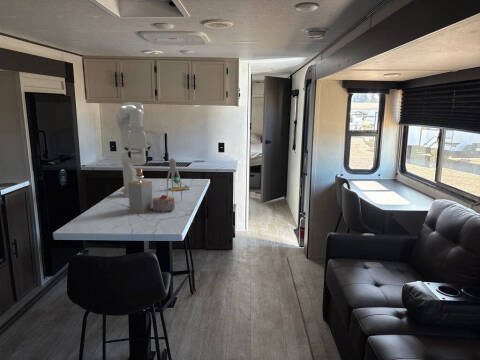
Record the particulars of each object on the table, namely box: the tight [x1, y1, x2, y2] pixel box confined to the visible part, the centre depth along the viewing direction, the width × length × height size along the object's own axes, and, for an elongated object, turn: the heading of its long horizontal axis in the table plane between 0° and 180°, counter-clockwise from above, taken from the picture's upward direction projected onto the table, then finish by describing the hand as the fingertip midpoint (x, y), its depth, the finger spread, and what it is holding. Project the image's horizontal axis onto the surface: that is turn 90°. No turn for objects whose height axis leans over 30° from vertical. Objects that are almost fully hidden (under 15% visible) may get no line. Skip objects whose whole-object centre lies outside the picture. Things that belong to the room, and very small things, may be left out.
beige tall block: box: [126, 179, 153, 215], centre depth 224 cm, size 12×12×18 cm
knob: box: [135, 167, 145, 183], centre depth 223 cm, size 8×8×25 cm
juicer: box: [166, 157, 183, 201], centre depth 245 cm, size 10×9×30 cm
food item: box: [152, 194, 176, 213], centre depth 224 cm, size 14×8×10 cm, turn 98°
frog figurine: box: [168, 172, 191, 192], centre depth 280 cm, size 10×18×15 cm, turn 80°
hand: (138, 157), depth 220 cm, fingers open, 9 cm apart
